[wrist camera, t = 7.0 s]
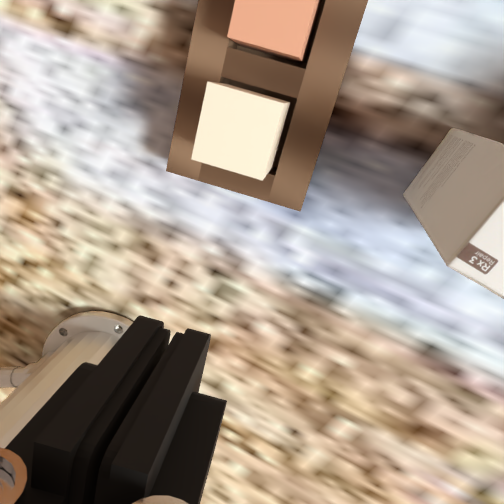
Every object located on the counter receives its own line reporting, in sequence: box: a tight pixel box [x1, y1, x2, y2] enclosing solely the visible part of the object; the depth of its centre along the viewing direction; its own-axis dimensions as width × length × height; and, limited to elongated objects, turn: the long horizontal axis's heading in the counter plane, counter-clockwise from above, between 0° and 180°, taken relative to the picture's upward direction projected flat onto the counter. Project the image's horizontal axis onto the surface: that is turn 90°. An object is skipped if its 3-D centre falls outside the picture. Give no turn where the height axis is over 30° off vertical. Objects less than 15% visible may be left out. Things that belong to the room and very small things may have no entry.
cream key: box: [191, 81, 290, 181], centre depth 27 cm, size 4×4×5 cm
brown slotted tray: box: [166, 0, 368, 211], centre depth 28 cm, size 23×10×3 cm, turn 165°
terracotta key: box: [227, 0, 321, 63], centre depth 26 cm, size 4×4×5 cm
